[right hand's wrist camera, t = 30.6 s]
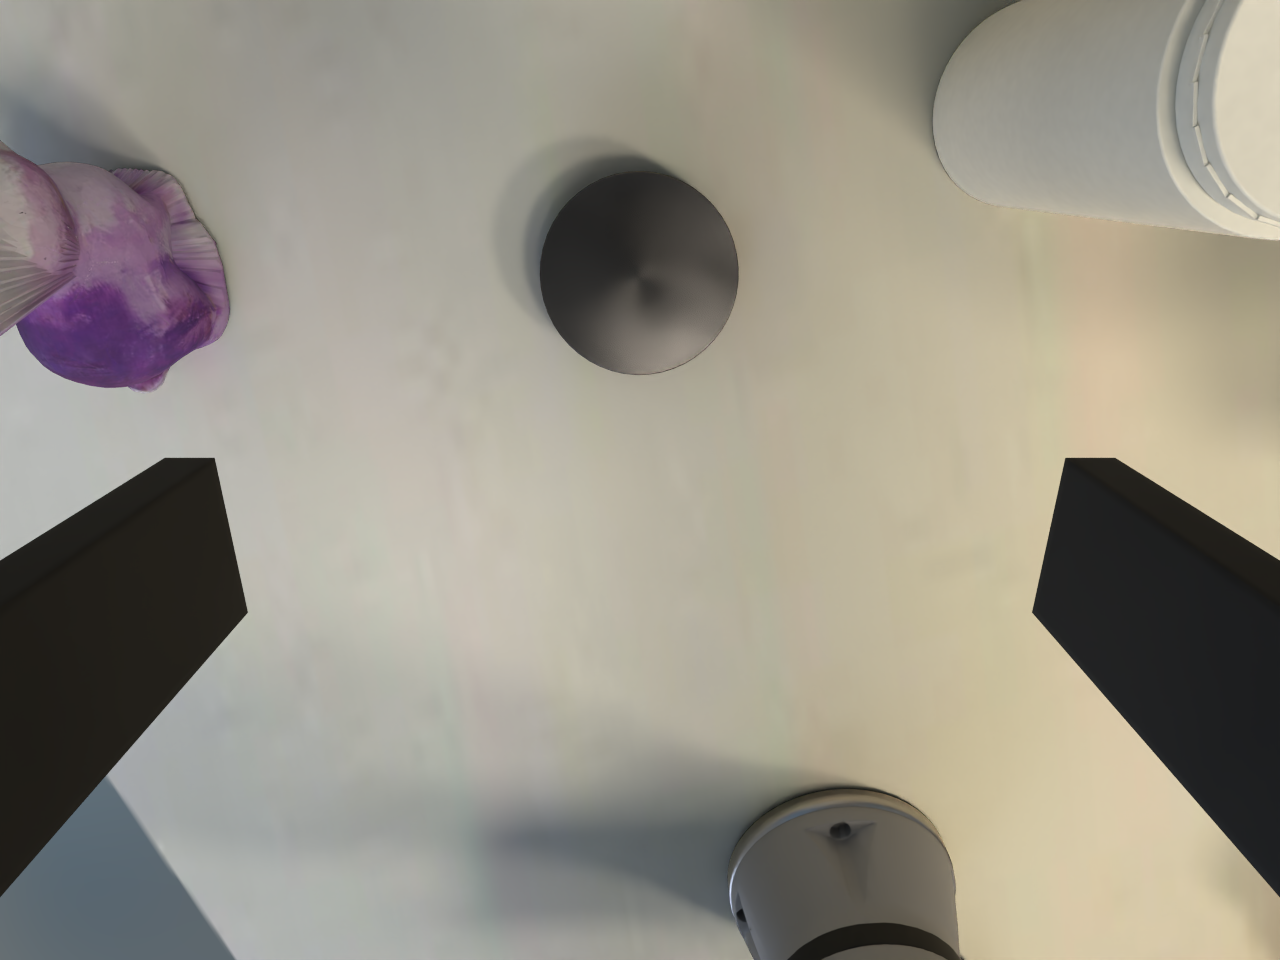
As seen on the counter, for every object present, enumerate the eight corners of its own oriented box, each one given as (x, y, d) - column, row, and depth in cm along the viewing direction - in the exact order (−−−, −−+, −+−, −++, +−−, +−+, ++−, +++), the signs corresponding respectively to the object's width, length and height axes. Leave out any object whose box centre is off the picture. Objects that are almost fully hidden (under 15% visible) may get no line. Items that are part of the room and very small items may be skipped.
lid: (662, 127, 38) (663, 126, 36) (770, 294, 41) (776, 300, 39) (505, 250, 40) (499, 254, 38) (619, 401, 43) (618, 411, 41)
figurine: (116, 107, 37) (-199, 75, 23) (283, 278, 40) (93, 341, 26) (0, 241, 39) (-349, 285, 25) (167, 394, 42) (-65, 507, 28)
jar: (943, 228, 39) (1194, 283, 21) (921, 30, 36) (1195, -98, 18) (1127, 179, 38) (1547, 195, 21) (1121, -28, 35) (1614, -221, 17)
